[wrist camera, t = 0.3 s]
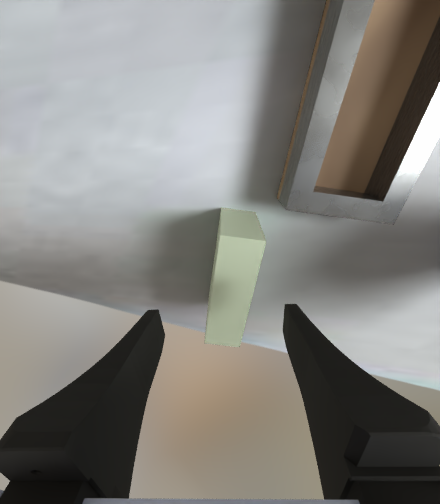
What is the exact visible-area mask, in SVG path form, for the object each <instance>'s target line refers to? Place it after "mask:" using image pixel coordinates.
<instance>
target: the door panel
mask: <svg viewBox="0 0 440 504" xmlns="http://www.w3.org/2000/svg"><path fill="white" fill-rule="evenodd" d="M265 245H266V239H265V236H264V233H263V231H262V228H261V225H260V223H259V220H258V218H257V215H256V212H250V211H243V210H236V209H228V208H221V213H220V220H219V227H218V234H217V242H216V249H215V256H214V263H213V270H212V277H211V285H210V292H209V299H208V310H207V321H206V332H205V343H206V344H215V345H225V346H234V347H240V344H241V340H242V336H243V332H244V328H245V324H246V320H247V316H248V312H249V308H250V304H251V300H252V296H253V292H254V288H255V284H256V280H257V276H258V272H259V269H260V265H261V261H262V257H263V253H264V249H265Z"/></svg>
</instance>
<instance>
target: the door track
mask: <svg viewBox="0 0 440 504" xmlns="http://www.w3.org/2000/svg"><path fill="white" fill-rule="evenodd" d="M439 136H440V0H326V4H325V8H324V12H323V16H322V20H321V24H320V28H319V32H318V36H317V40H316V44H315V48H314V52H313V56H312V59H311V63H310V67H309V71H308V75H307V79H306V83H305V87H304V91H303V95H302V99H301V103H300V107H299V111H298V115H297V119H296V123H295V127H294V131H293V135H292V139H291V143H290V147H289V151H288V155H287V159H286V163H285V167H284V171H283V175H282V179H281V183H280V187H279V191H278V195H277V199H278V200H279V201H280V203H281V204H282V205H283V207H284V208H285V209H286V210H291V211H299V212H306V213H313V214H320V215H328V216H335V217H342V218H350V219H357V220H364V221H371V222H379V223H386V224H393V225H394V223H395V221H396V219H397V217H398V215H399V213H400V211H401V209H402V207H403V205H404V203H405V202H406V200H407V198H408V196H409V194H410V192H411V190H412V188H413V186H414V184H415V182H416V180H417V179H418V177H419V175H420V173H421V171H422V169H423V167H424V165H425V163H426V161H427V159H428V157H429V156H430V154H431V152H432V150H433V148H434V146H435V144H436V142H437V140H438V138H439Z"/></svg>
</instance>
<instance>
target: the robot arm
mask: <svg viewBox="0 0 440 504" xmlns="http://www.w3.org/2000/svg"><path fill="white" fill-rule="evenodd" d="M283 334H284V339H285V344H286V348H287V351H288V354H289V357H290V360H291V363H292V366H293V369H294V372H295V375H296V378H297V381H298V384H299V387H300V391H301V394H302V398H303V402H304V406H305V410H306V414H307V419H308V423H309V427H310V432H311V436H312V441H313V445H314V450H315V455H316V460H317V465H318V469H319V475H320V479H321V485H322V490H323V495H324V500H307V499H305V500H304V499H301V500H300V499H129V493H130V486H131V480H132V473H133V467H134V462H135V456H136V451H137V444H138V439H139V435H140V429H141V425H142V420H143V415H144V411H145V406H146V402H147V398H148V394H149V391H150V388H151V385H152V381H153V379H154V375H155V372H156V369H157V366H158V363H159V360H160V356H161V353H162V348H163V343H164V338H165V333H164V329H163V325H162V321H161V318H160V314H159V310H148V311H147V312H146V313H145V314H144V315H143V316H142V317H141V318H140V320H139V321H138V322H137V323H136V324H135V325H134V326H133V327H132V329H131V330H130V331H129V332H128V333H127V334H126V335H125V336H124V337H123V338H122V339H121V340H120V341H119V343H117V344H116V345H115V346H114V347H113V348H112V349H111V350H110V351H109V352H108V353H107V354H106V355H105V356H104V357H103V358H102V359H101V360H99V362H97V363H96V364H95V365H94V366H92V367H91V368H90V369H89V370H87V371H86V372H85V373H84V374H82V375H81V376H80V377H78V378H77V379H76V380H75V381H73V382H72V383H70V384H69V385H68V386H66V387H65V388H63V389H62V390H60V391H59V392H58V393H56V394H55V395H53V396H52V397H50V398H49V399H47V400H45V401H44V402H43V403H41V404H39V405H37V406H36V407H34V408H32V409H31V410H29V411H27V412H26V413H24V414H23V415H21V416H19V417H17V418H16V419H15V421H14V422H13V423H12V425H11V426H10V427H9V429H8V430H7V431H6V433H5V434H4V436H3V437H2V438H1V440H0V473H2V474H3V475H4V476H5V477H6V478H8V479H9V480H10V482H9V484H8V486H7V487H6V489H5V491H2V490H0V504H440V466H439V465H440V426H439V425H438V423H437V422H436V421H435V420H434V419H433V417H432V416H431V415H430V414H429V412H428V411H426V410H425V409H423V408H421V407H420V406H418V405H416V404H414V403H413V402H411V401H409V400H408V399H406V398H404V397H403V396H401V395H399V394H398V393H396V392H395V391H393V390H391V389H390V388H388V387H387V386H385V385H384V384H382V383H381V382H379V381H378V380H376V379H375V378H374V377H372V376H371V375H370V374H368V373H367V372H366V371H364V370H363V369H361V368H360V367H359V366H358V365H356V364H355V363H354V362H352V361H351V360H350V359H349V358H348V357H347V356H345V355H344V354H343V353H342V352H341V351H340V350H339V349H337V348H336V347H335V346H334V345H333V344H332V343H331V342H330V341H329V340H328V339H327V338H326V337H325V336H324V335H323V334H322V333H321V332H320V331H319V330H318V329H317V327H316V326H315V325H314V324H313V323H312V322H311V321H310V320H309V319H308V317H307V316H306V315H305V314H304V313H303V311H302V310H301V309H300V308H299V306H298V305H297V304H285V309H284V322H283Z"/></svg>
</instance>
